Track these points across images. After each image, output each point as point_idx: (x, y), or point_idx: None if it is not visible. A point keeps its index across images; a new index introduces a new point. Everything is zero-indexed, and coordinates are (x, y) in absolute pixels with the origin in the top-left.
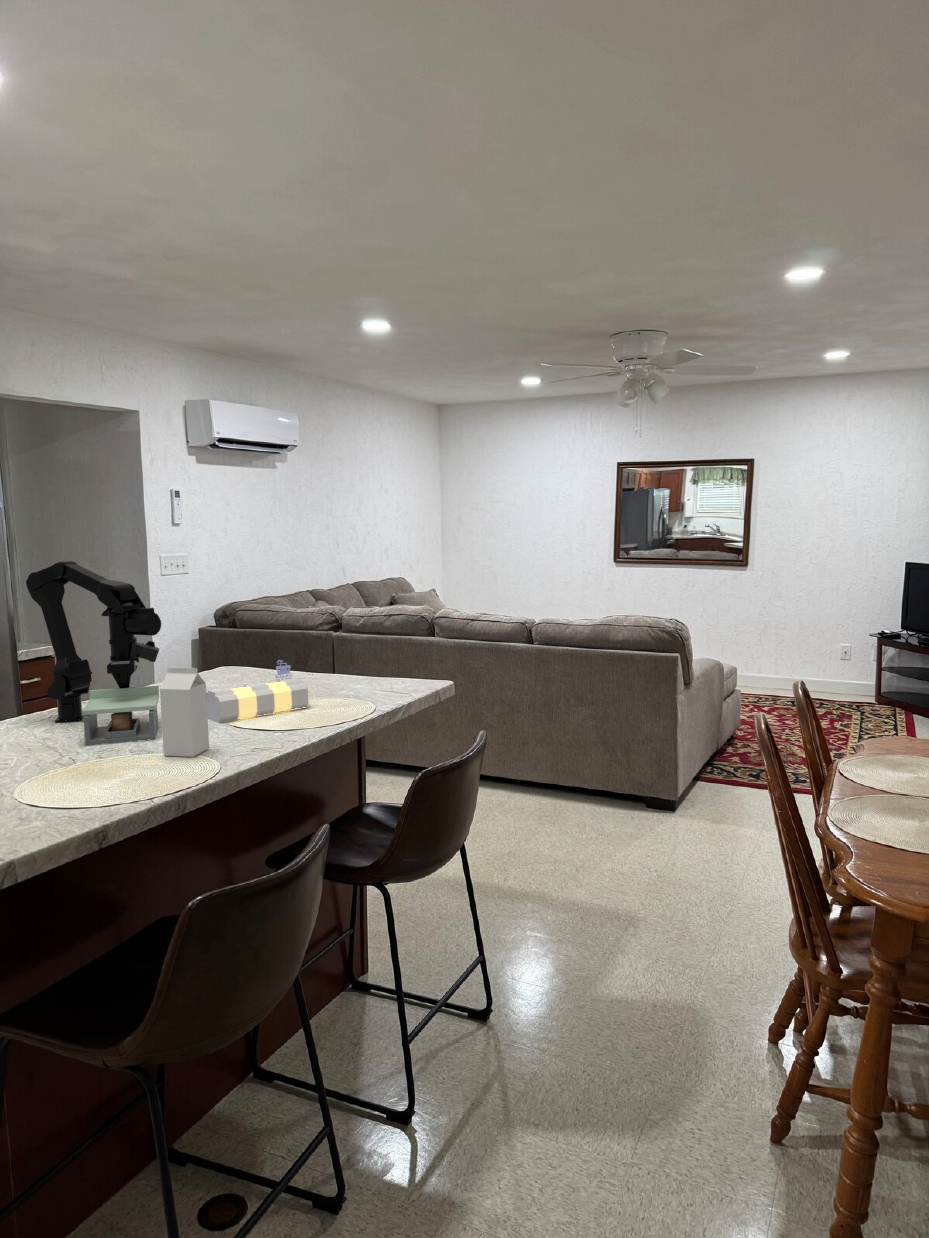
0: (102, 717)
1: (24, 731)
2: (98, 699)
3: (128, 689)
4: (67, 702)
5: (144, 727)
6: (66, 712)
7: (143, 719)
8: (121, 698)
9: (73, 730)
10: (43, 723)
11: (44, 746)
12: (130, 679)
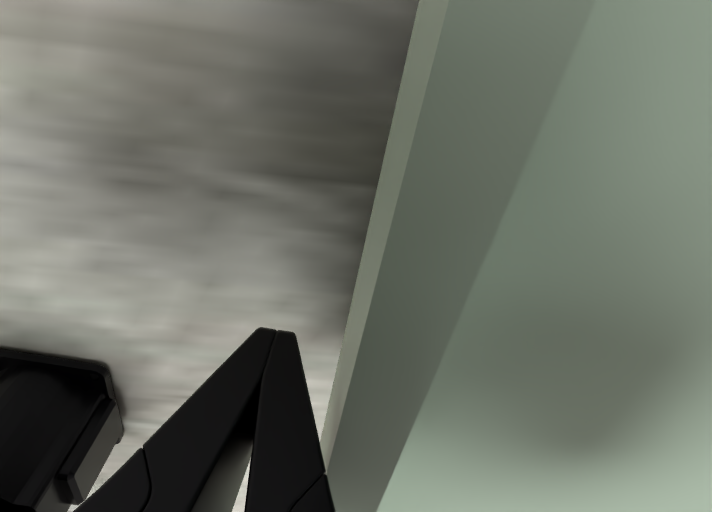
0: (35, 283)
1: (244, 499)
2: (391, 507)
3: (412, 417)
4: (59, 497)
5: None
6: (103, 451)
7: (164, 56)
8: (476, 401)
9: (313, 401)
10: (121, 458)
11: None
12: (189, 500)
